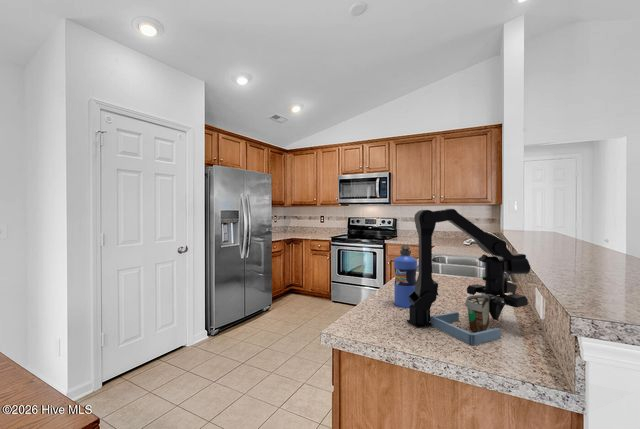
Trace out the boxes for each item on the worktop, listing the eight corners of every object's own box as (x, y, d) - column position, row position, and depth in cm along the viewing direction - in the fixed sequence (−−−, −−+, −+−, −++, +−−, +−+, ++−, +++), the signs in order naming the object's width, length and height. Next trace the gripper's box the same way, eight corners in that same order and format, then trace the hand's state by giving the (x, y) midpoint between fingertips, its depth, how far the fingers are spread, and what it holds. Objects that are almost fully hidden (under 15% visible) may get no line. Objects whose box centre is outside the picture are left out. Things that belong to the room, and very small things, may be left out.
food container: (470, 320, 106) (469, 292, 106) (490, 324, 102) (489, 295, 102) (461, 332, 96) (460, 302, 96) (482, 337, 93) (481, 305, 92)
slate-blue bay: (472, 345, 87) (472, 335, 87) (430, 325, 103) (430, 316, 103) (500, 338, 91) (500, 328, 91) (456, 319, 107) (456, 311, 107)
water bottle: (409, 309, 118) (408, 247, 118) (389, 304, 126) (389, 245, 125) (421, 304, 125) (421, 245, 124) (402, 299, 132) (402, 243, 131)
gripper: (538, 277, 97) (539, 324, 97) (486, 267, 114) (487, 307, 114) (515, 281, 93) (516, 331, 93) (465, 270, 110) (466, 312, 110)
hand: (495, 319), depth 103 cm, fingers closed
